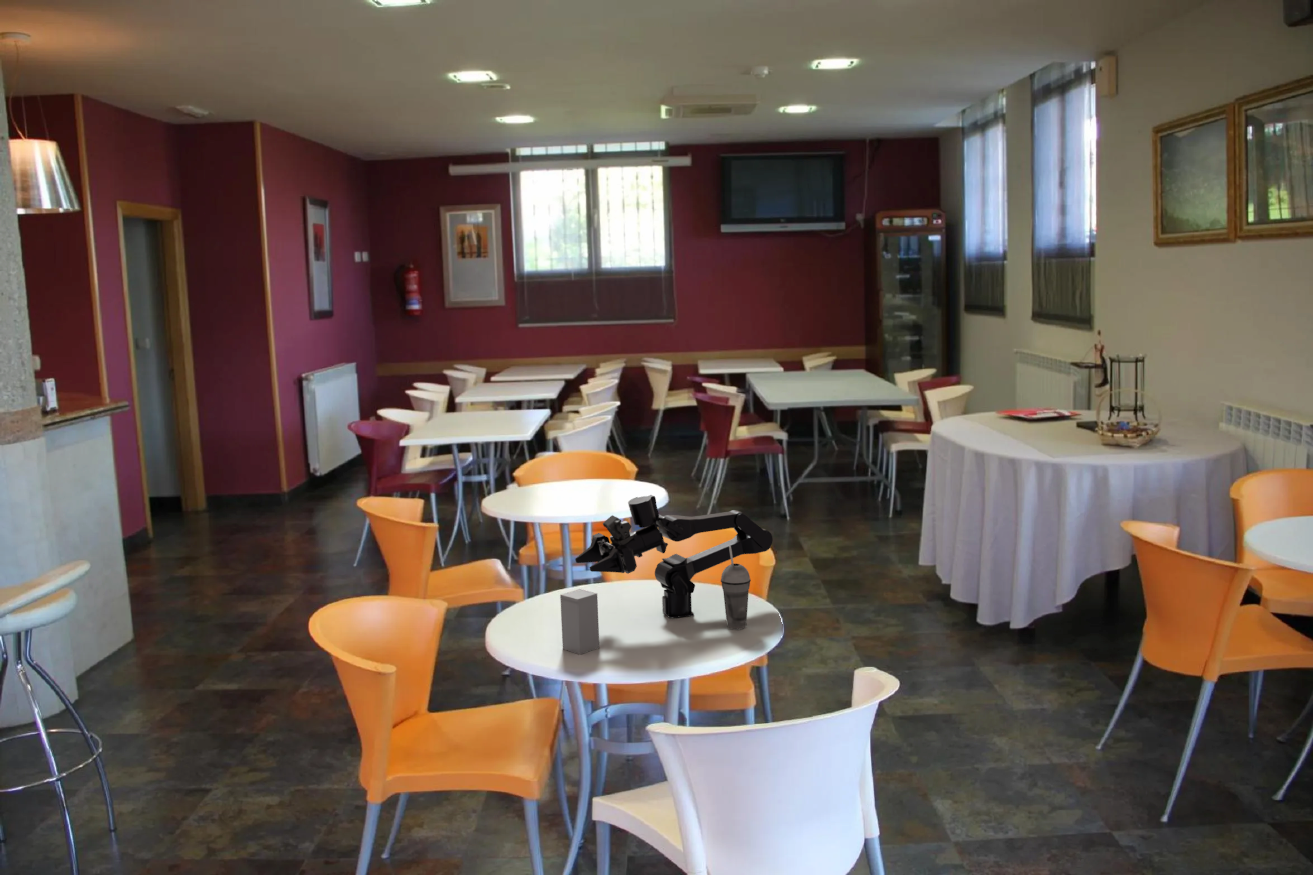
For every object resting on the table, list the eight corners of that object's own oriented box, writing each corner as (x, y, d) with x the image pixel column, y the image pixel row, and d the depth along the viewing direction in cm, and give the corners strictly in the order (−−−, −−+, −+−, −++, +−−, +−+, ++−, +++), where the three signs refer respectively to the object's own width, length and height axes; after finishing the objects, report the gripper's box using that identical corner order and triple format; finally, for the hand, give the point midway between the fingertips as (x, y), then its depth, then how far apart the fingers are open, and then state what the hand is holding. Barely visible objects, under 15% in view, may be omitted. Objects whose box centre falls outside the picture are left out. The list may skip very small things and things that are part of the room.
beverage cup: (749, 631, 258) (748, 550, 256) (719, 630, 260) (717, 549, 257) (753, 622, 266) (751, 542, 263) (723, 621, 267) (722, 542, 264)
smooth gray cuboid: (581, 642, 255) (579, 588, 253) (599, 647, 251) (597, 593, 249) (562, 648, 250) (560, 594, 249) (580, 654, 246) (577, 599, 244)
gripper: (615, 505, 273) (560, 527, 267) (647, 518, 257) (589, 542, 251) (626, 545, 276) (571, 568, 270) (658, 561, 259) (601, 585, 253)
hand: (582, 565), depth 261 cm, fingers open, 9 cm apart
